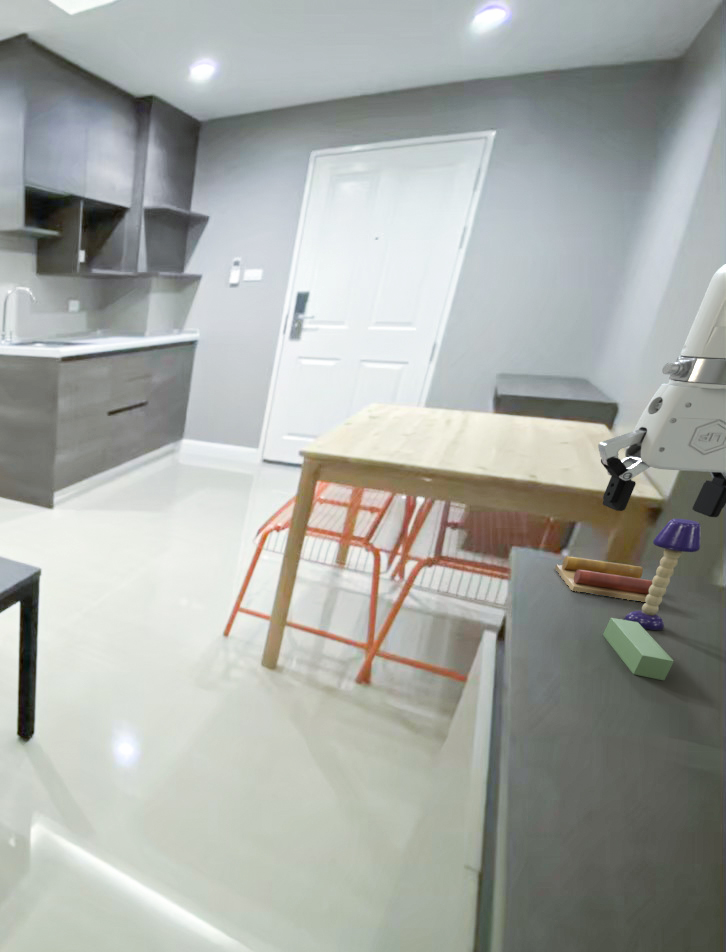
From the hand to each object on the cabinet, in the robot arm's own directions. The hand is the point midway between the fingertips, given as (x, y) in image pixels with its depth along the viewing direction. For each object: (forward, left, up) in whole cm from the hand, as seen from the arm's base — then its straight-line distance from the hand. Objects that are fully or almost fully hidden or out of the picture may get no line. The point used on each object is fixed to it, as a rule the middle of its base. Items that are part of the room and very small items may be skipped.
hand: (657, 510), depth 78 cm
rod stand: (-8, -29, -21) cm, 37 cm away
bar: (-4, 0, -21) cm, 21 cm away
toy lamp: (-9, -14, -21) cm, 27 cm away
